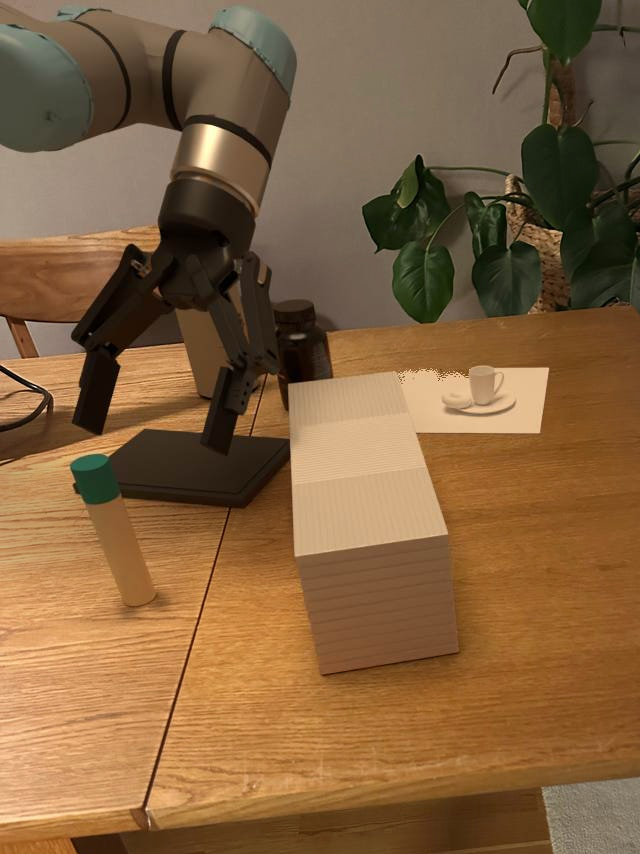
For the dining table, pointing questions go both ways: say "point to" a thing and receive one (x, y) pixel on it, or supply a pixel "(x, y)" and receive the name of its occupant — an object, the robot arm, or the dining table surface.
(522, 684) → the dining table surface
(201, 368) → the travel mug
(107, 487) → the marker
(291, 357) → the supplement bottle
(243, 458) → the black cutting board
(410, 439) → the stack of papers
